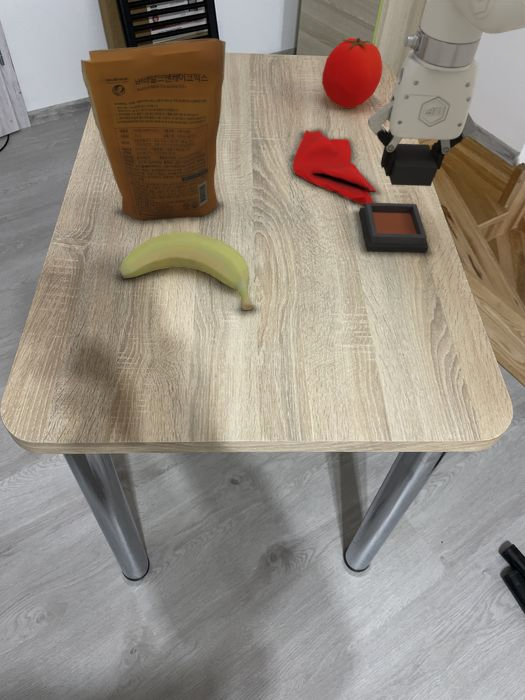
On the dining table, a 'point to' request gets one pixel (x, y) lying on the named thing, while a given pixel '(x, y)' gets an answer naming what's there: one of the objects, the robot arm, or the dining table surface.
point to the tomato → (352, 72)
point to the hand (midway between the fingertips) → (408, 170)
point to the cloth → (331, 166)
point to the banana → (191, 259)
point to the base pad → (393, 228)
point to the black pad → (413, 165)
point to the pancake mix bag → (160, 123)
